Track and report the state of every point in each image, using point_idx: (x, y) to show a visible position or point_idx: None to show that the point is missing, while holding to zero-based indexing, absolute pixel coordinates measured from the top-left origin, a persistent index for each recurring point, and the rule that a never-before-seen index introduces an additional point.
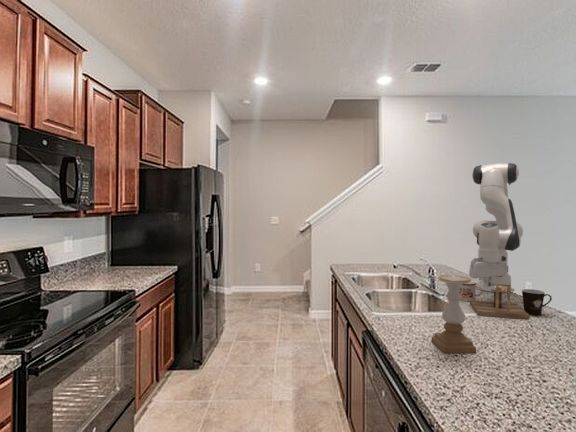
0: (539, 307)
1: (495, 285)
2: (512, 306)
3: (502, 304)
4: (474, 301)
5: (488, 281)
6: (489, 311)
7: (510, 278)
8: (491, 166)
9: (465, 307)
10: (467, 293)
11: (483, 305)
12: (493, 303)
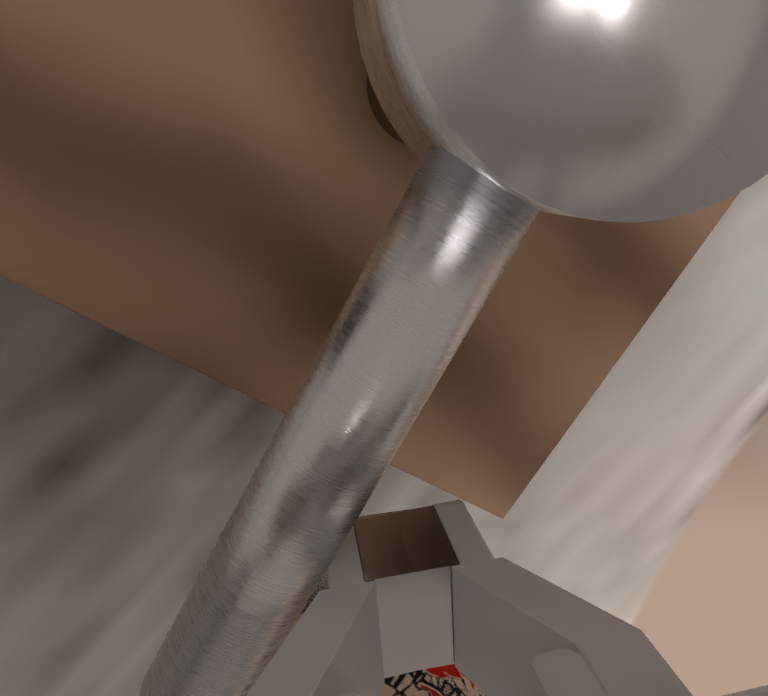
0: None
1: (731, 5)
2: (132, 14)
3: (220, 191)
4: (506, 442)
5: (374, 672)
6: None
7: None
8: None
9: (648, 369)
10: (450, 674)
11: (565, 224)
12: (323, 287)
